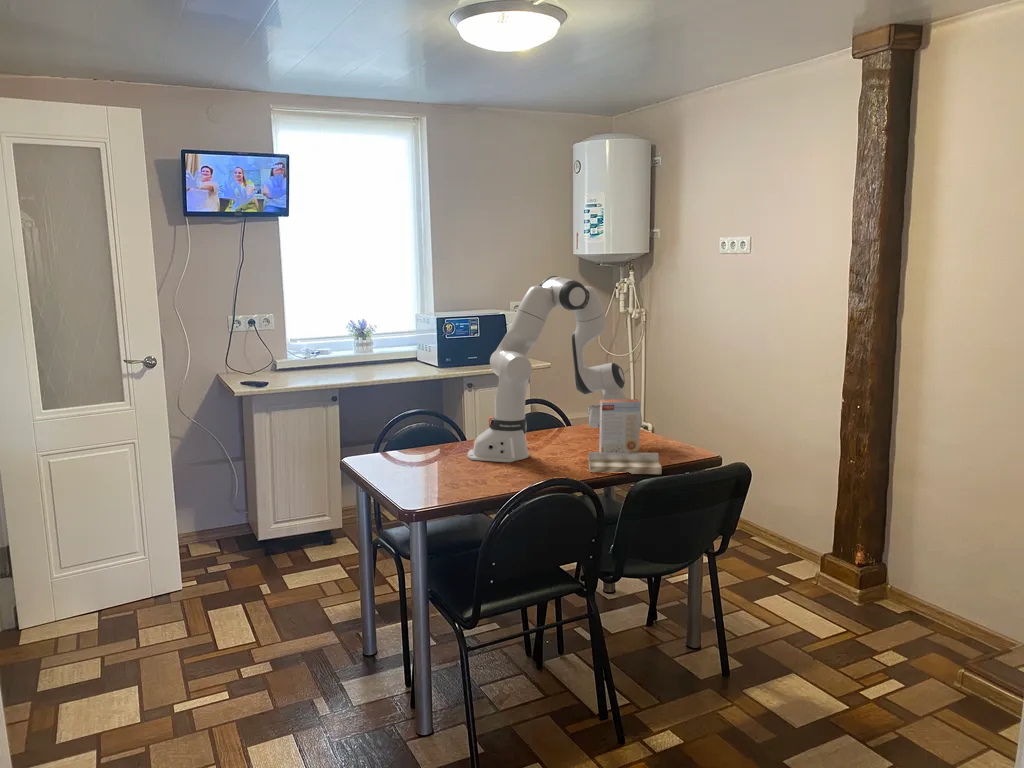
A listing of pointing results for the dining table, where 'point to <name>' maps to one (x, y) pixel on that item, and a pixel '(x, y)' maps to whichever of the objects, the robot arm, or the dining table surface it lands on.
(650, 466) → the birch plank
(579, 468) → the dining table surface
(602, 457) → the edge rail
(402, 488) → the dining table surface
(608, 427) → the cracker box
